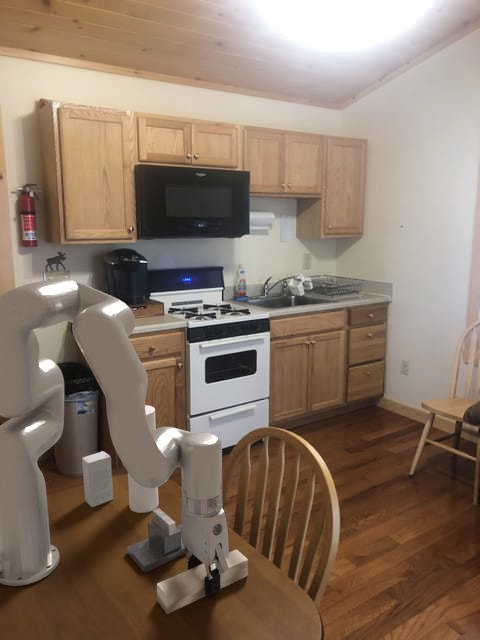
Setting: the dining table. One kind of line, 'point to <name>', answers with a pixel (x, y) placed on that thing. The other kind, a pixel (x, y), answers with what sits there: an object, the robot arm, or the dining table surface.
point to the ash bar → (198, 582)
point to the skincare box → (97, 478)
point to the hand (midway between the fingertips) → (203, 583)
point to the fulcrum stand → (158, 543)
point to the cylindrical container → (139, 495)
